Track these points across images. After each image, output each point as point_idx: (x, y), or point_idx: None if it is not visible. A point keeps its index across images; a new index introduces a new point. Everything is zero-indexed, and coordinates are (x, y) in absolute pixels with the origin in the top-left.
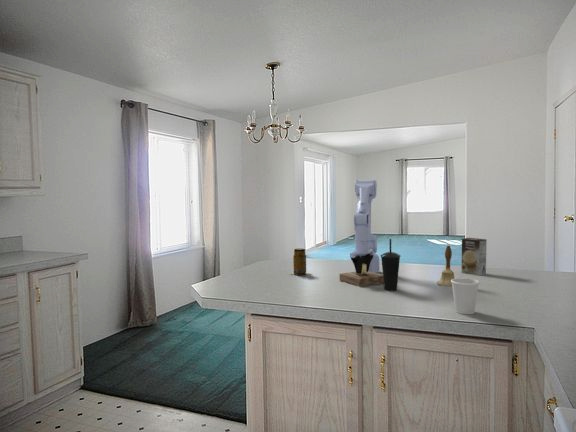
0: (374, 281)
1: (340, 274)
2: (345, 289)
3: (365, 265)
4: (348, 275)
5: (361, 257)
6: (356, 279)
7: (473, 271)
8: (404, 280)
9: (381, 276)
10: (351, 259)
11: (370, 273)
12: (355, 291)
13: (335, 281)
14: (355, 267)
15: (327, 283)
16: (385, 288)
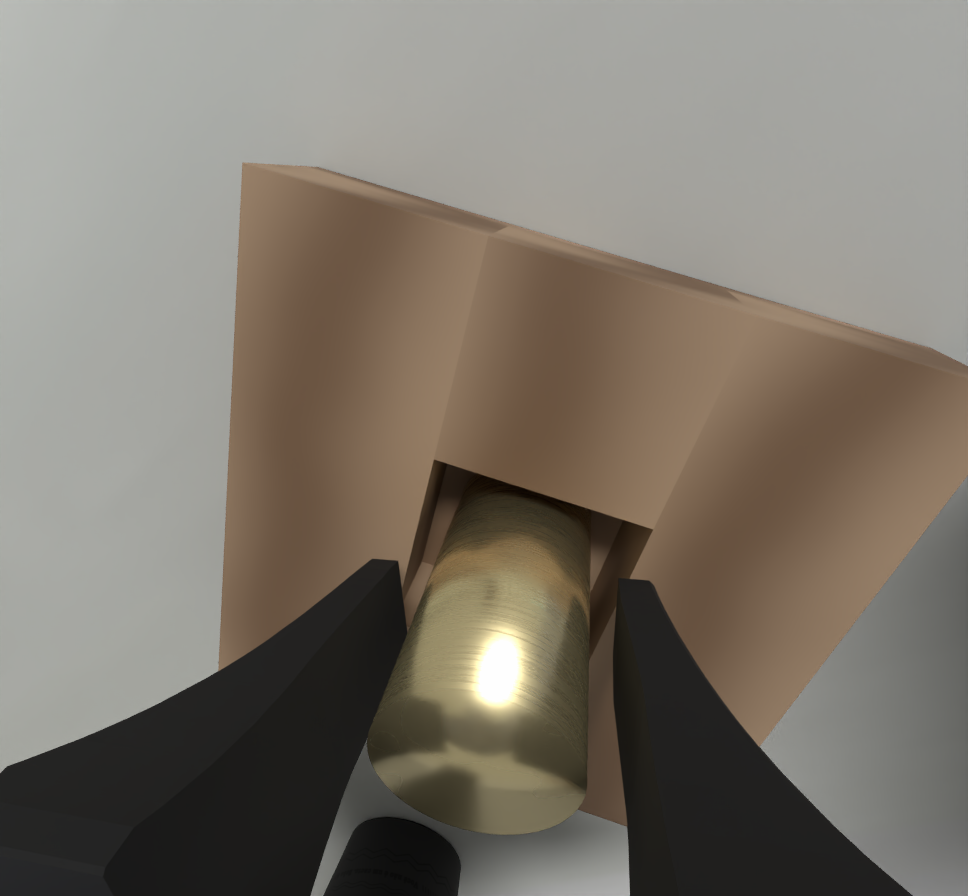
0: None
1: (246, 206)
2: (68, 570)
3: (473, 811)
4: (270, 437)
5: (669, 879)
6: (229, 630)
7: None
8: (944, 861)
9: (602, 812)
10: (39, 766)
11: (705, 639)
12: (108, 673)
13: (214, 162)
14: (298, 635)
15: (22, 172)
16: (344, 850)
